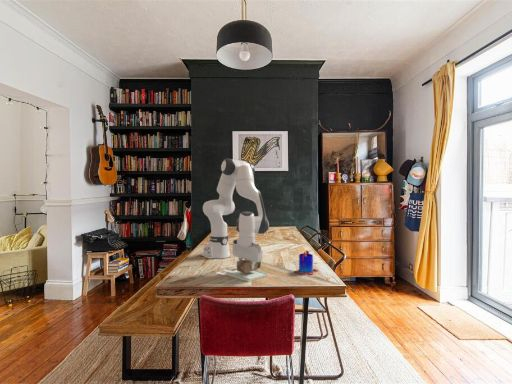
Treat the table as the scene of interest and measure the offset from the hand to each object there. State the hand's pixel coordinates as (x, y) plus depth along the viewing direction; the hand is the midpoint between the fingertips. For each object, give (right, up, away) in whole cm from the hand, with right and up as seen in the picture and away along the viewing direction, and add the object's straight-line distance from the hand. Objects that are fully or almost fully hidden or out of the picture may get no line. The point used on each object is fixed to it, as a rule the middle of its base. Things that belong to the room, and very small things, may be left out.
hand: (247, 267), depth 168 cm
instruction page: (-13, -4, +6) cm, 15 cm away
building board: (0, -5, 0) cm, 5 cm away
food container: (+4, -4, +16) cm, 17 cm away
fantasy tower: (+33, -5, +7) cm, 34 cm away
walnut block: (0, -2, 0) cm, 2 cm away
